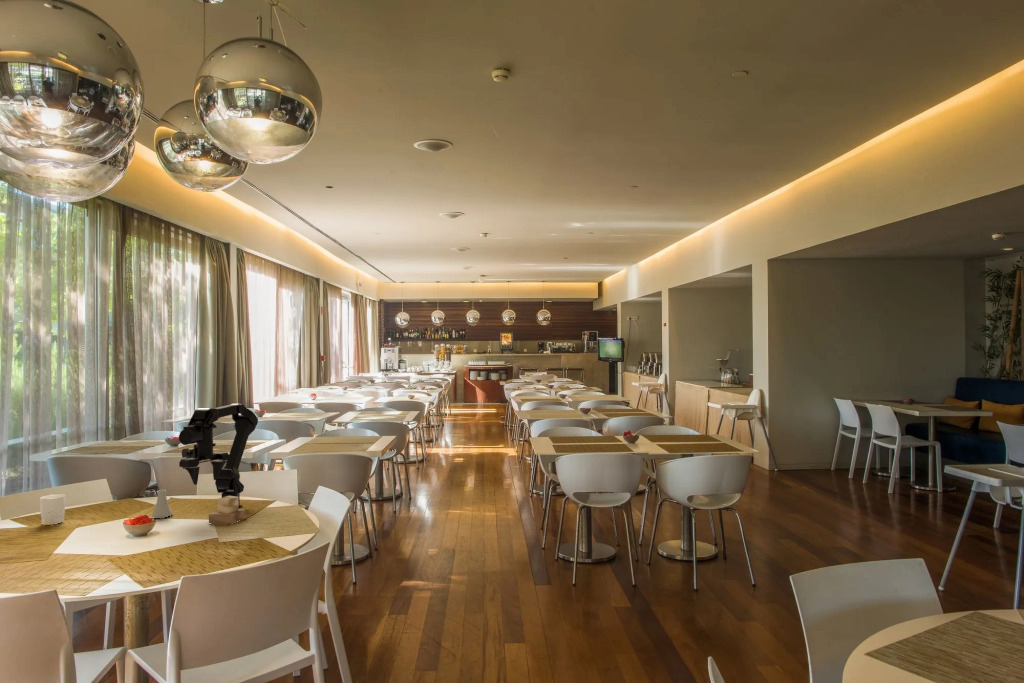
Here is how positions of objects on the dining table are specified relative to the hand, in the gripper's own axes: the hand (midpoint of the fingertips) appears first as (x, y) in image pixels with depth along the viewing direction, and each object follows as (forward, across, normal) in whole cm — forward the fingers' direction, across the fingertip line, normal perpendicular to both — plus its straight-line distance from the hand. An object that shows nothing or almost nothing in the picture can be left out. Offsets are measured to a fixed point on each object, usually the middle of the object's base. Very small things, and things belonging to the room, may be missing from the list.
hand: (205, 482), depth 252 cm
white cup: (+13, +27, -47) cm, 56 cm away
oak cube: (+9, +2, +14) cm, 17 cm away
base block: (+13, +2, +14) cm, 19 cm away
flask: (+13, +6, -16) cm, 22 cm away
